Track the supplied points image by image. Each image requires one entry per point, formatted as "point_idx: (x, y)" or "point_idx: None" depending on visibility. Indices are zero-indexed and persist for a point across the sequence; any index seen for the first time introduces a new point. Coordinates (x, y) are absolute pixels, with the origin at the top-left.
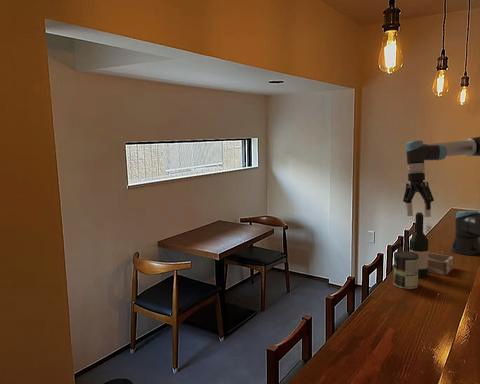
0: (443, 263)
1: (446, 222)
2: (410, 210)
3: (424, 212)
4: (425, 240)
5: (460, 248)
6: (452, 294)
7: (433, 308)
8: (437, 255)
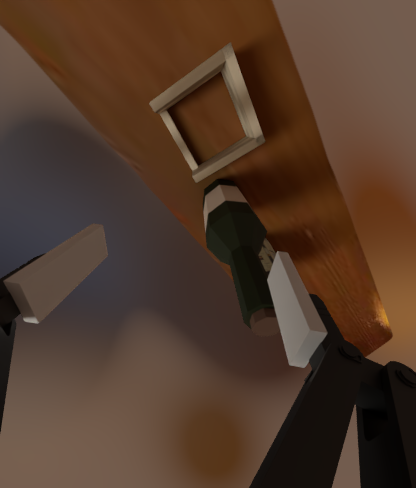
0: (257, 145)
1: None
2: (80, 259)
3: (272, 299)
4: (264, 238)
5: None
6: (327, 215)
7: (333, 271)
8: (186, 89)
